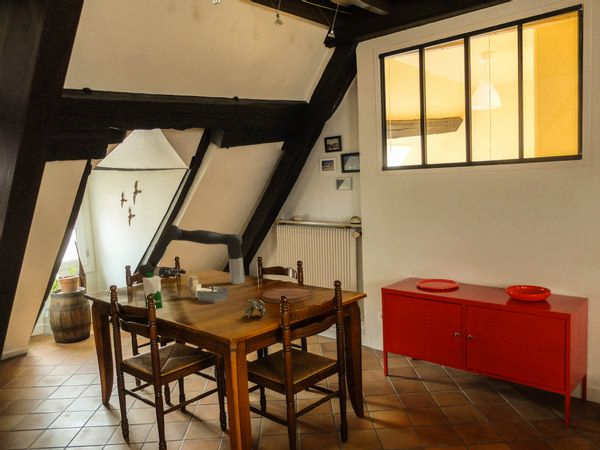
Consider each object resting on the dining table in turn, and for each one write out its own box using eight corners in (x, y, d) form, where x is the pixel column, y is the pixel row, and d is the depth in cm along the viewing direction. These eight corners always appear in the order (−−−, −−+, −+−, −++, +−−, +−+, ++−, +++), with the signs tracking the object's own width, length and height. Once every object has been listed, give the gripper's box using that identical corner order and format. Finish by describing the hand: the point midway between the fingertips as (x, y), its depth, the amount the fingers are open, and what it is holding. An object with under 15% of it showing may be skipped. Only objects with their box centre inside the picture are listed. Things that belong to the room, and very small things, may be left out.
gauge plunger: (194, 296, 299) (193, 283, 298) (202, 294, 304) (201, 280, 303) (210, 299, 291) (209, 285, 290) (218, 296, 297) (217, 282, 296)
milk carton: (157, 304, 290) (154, 271, 287) (164, 307, 283) (161, 273, 281) (143, 308, 284) (140, 274, 282) (150, 311, 277) (147, 276, 275)
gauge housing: (198, 301, 293) (197, 290, 293) (212, 296, 303) (211, 286, 303) (214, 303, 286) (213, 292, 285) (228, 298, 296) (227, 288, 295)
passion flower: (262, 326, 256) (271, 310, 250) (244, 326, 250) (252, 310, 244) (255, 310, 264) (263, 294, 258) (237, 310, 258) (245, 294, 252)
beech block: (188, 297, 303) (186, 276, 302) (194, 295, 307) (192, 275, 305) (193, 298, 301) (192, 277, 299) (199, 296, 304) (197, 275, 303)
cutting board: (304, 305, 273) (304, 300, 272) (252, 302, 284) (252, 298, 284) (321, 291, 303) (321, 287, 302) (274, 289, 314) (274, 285, 313)
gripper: (153, 269, 311) (171, 270, 302) (170, 264, 323) (188, 265, 314) (154, 280, 312) (172, 282, 303) (171, 275, 323) (189, 277, 314)
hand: (180, 273), depth 308 cm, fingers open, 8 cm apart
